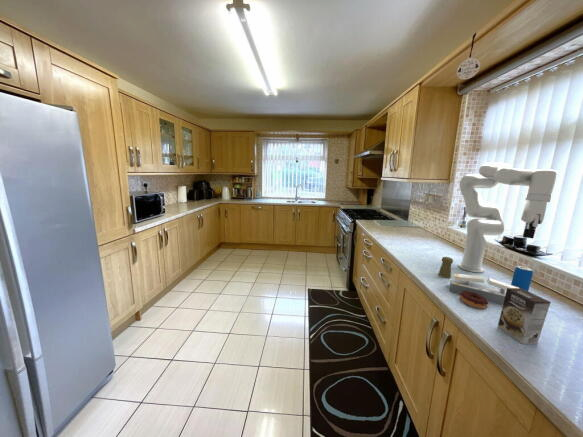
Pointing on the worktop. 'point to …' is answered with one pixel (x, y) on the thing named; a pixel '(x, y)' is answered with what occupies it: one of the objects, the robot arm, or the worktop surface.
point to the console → (478, 290)
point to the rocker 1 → (469, 278)
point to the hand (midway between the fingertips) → (527, 237)
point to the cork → (446, 267)
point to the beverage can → (522, 277)
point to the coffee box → (523, 315)
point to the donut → (473, 299)
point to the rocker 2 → (500, 284)
